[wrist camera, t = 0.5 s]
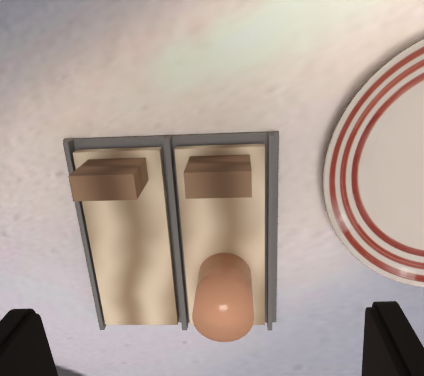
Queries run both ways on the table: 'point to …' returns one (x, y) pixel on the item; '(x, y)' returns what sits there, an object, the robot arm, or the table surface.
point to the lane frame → (170, 173)
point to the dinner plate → (382, 171)
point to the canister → (223, 298)
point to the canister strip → (223, 211)
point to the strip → (128, 233)
